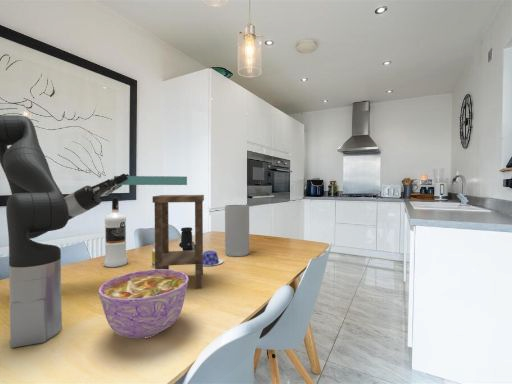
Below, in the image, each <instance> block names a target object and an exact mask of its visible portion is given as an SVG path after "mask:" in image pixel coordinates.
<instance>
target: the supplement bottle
mask: <svg viewBox="0 0 512 384" xmlns="http://www.w3.org/2000/svg"><path fill="white" fill-rule="evenodd" d="M153 247H154V248H153V249H152V250H151V252H152V253H151V267H153V268H155V243H153Z"/></svg>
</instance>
